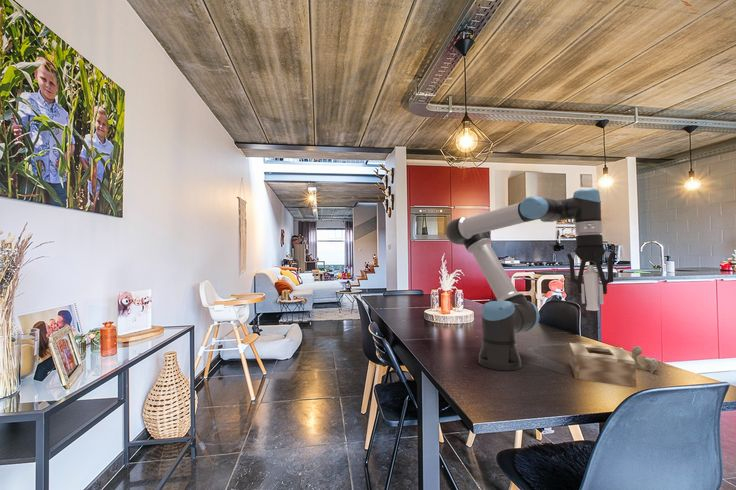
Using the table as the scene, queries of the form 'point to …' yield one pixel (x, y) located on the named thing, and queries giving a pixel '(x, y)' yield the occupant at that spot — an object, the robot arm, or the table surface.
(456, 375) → the table surface
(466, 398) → the table surface
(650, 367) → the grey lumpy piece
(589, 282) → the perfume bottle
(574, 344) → the holder box
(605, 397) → the table surface
